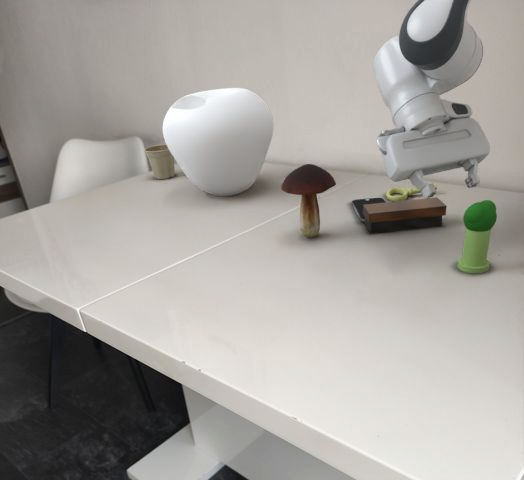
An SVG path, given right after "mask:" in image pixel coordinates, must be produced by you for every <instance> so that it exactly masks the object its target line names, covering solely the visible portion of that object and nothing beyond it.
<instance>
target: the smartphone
mask: <svg viewBox="0 0 524 480" xmlns="http://www.w3.org/2000/svg"><path fill="white" fill-rule="evenodd" d="M385 202H386V201H385V199H384V198H382V197H371V198H359V199H353V200H352V201H351V205H352V207H353V210H354V212H355V213H356V216H357V218H358V220H359V221H360V223H364V224H365V216H364V215H363V205H365V204H375V203H385Z"/></svg>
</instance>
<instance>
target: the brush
mask: <svg viewBox="0 0 524 480" xmlns="http://www.w3.org/2000/svg"><path fill="white" fill-rule="evenodd" d="M447 206H448V205H446V204H445V203H444V202H443V201H442V200H441V199H439V198H438V196H435V197H429V198H417V199H406V200H404V201H385V203H375V204H365V205H363V215H364V216H365V223H364V225H365V227H366V228H367V230H368V231H369V233H370V234H376V233H385V232H394V231H405V230H415V229H426V228H436V227H442V225H443V216H446V215H447V208H448V207H447Z"/></svg>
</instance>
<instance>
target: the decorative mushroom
mask: <svg viewBox="0 0 524 480" xmlns="http://www.w3.org/2000/svg"><path fill="white" fill-rule="evenodd" d="M335 186H337V182H336V179H334V177H333V175H332V174H331V173H330V172H329V171H327V170H326V169H324V168H322V167H320V166H318V165H315V164H313V163H306V164H303V165H301V166H298V167H297V168H295V169H294V170H292V171H291V172H290V173H288V174H287V175H286V176H285V177H284V180H283V182H282V184H281V187H280V189H281V191H282V192H284V193H286V194H289V195H295V196H301V198H300V206H299V230H300V232H301V235H302V236H304V237H306V238H310V239H312V238H315V237H316V236H317V235H319V233H320V231H321V217H320V206H319V202H318V201H319V200H318V196H317V195H319V194H323V193H325V192H327V191H328V190H330V189H331V188H333V187H335Z"/></svg>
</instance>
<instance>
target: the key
mask: <svg viewBox="0 0 524 480" xmlns="http://www.w3.org/2000/svg"><path fill="white" fill-rule="evenodd" d="M432 184H433V185H434V188H435V189H436V191H437V190H438V185H437V184H434V183H432ZM420 193H421V194H422V192H421V191H420V190H419V189H418V188H416V187H415V188H411V187H409V188H408V189H405V188H403V187H392V188H389V189H388V190H387V191H386V193H385V197H386V198H387V200H388V201H390V202H395V201H405V200H408V197H412V195H414V194H415V195H416V194H420ZM392 194H401V195H398V196H394V195H392Z"/></svg>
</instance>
